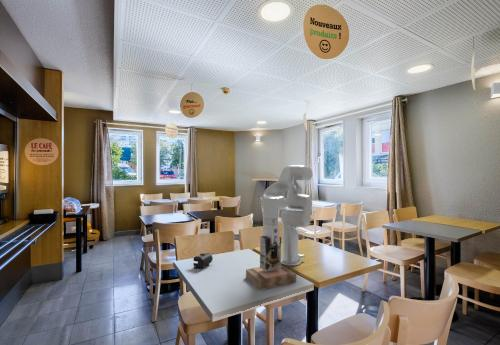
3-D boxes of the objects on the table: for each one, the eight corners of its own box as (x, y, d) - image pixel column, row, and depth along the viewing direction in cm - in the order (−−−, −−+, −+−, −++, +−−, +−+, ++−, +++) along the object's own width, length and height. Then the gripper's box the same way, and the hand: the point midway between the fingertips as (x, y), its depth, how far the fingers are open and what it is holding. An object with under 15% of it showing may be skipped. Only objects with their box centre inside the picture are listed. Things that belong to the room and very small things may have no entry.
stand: (278, 271, 139) (278, 263, 139) (296, 281, 124) (296, 273, 125) (246, 277, 130) (246, 268, 130) (260, 289, 116) (260, 280, 116)
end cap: (203, 270, 140) (203, 258, 140) (192, 268, 143) (193, 256, 143) (212, 264, 149) (212, 253, 149) (202, 263, 152) (202, 251, 152)
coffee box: (266, 272, 123) (266, 239, 123) (259, 267, 128) (259, 236, 129) (281, 268, 127) (281, 236, 127) (274, 264, 133) (274, 234, 133)
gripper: (286, 223, 122) (286, 260, 122) (268, 218, 137) (268, 250, 137) (272, 224, 119) (272, 262, 118) (256, 219, 134) (256, 252, 134)
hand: (270, 256), depth 128 cm, fingers closed on coffee box, 6 cm apart
